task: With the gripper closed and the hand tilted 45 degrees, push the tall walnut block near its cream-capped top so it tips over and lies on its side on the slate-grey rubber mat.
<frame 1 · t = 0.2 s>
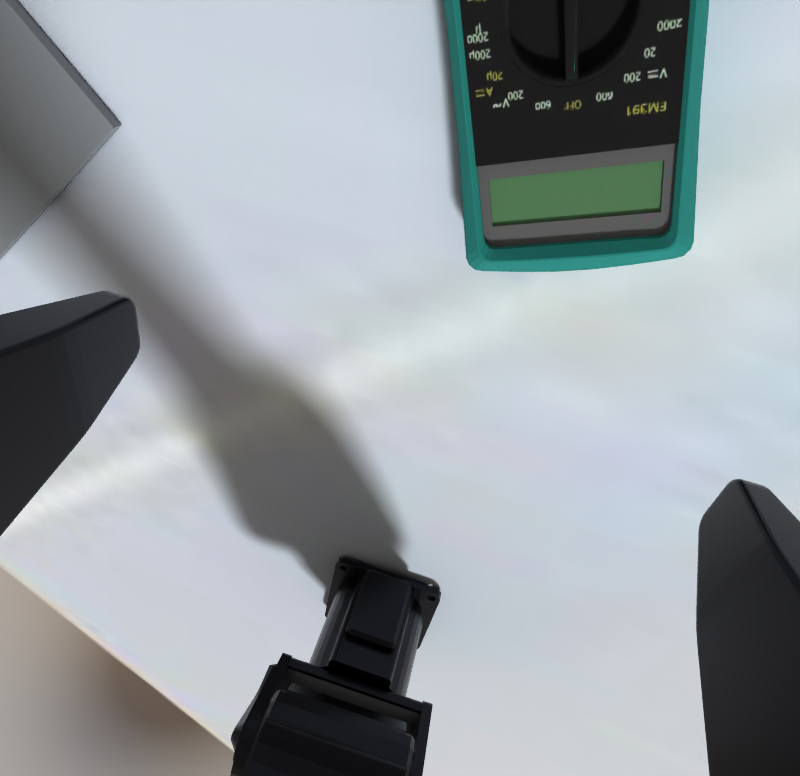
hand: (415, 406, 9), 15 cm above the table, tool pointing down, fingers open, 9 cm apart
digital multimeter: (571, 17, 18), on the table
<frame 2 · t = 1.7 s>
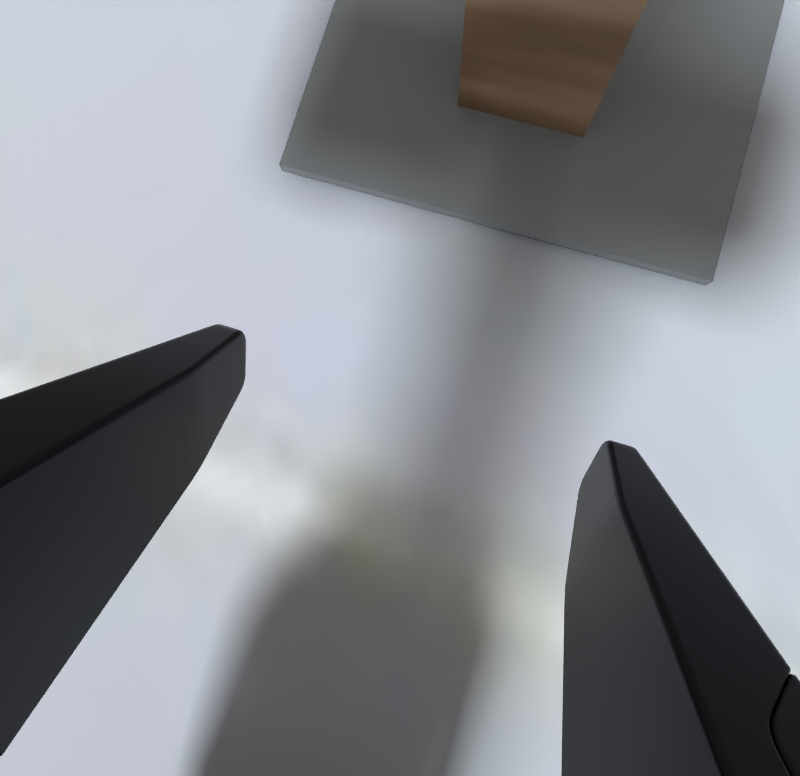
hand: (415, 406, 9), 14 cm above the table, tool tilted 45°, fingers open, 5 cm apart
walnut block: (537, 63, 23), resting on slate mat
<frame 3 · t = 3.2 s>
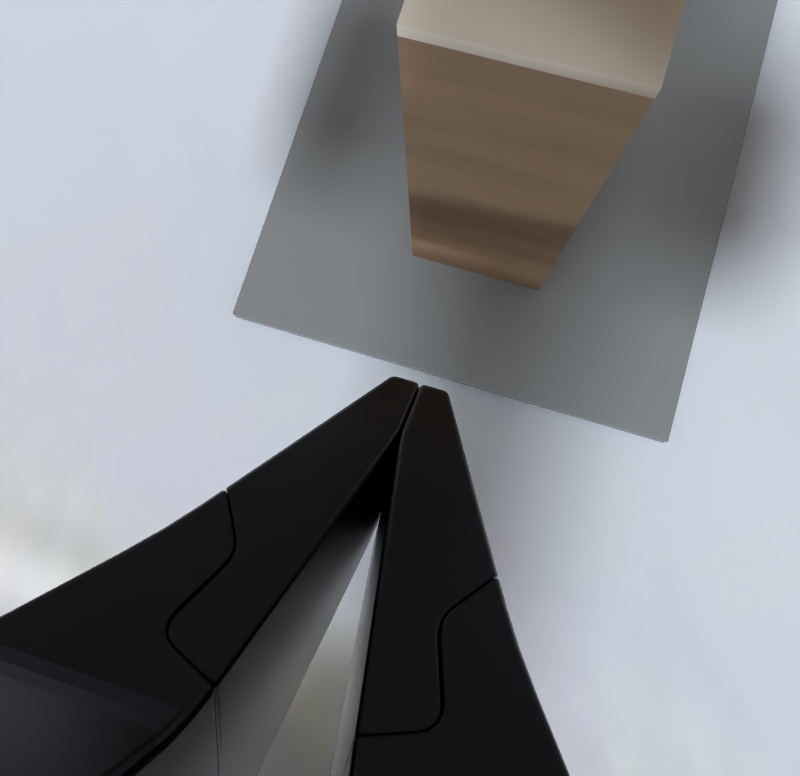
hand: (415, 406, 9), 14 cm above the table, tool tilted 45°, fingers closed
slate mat: (526, 99, 24), on the table
walnut block: (492, 213, 23), resting on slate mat
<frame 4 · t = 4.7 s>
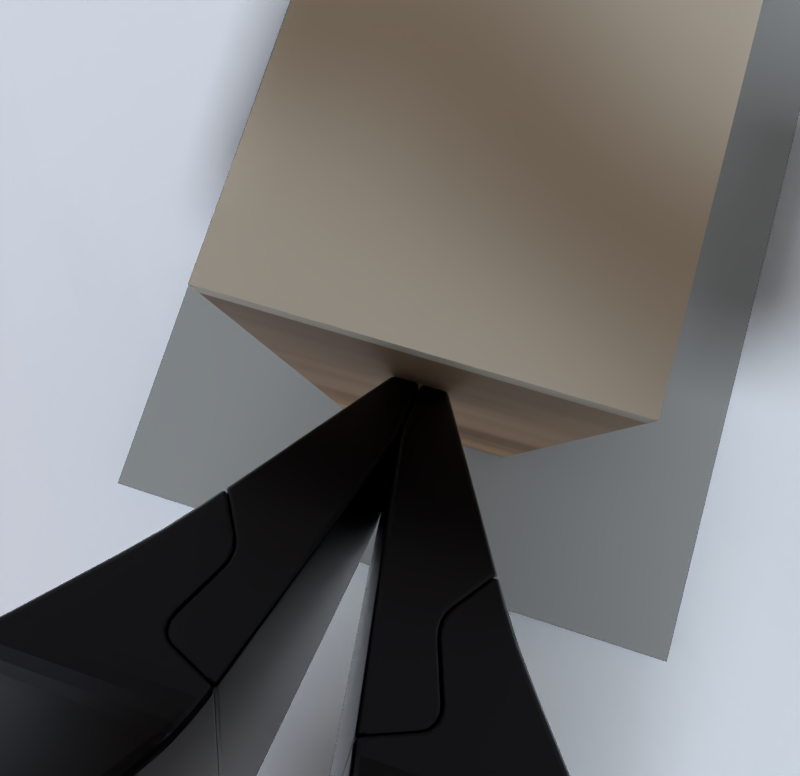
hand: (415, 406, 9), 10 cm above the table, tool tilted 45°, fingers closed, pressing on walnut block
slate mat: (490, 204, 19), on the table
walnut block: (446, 355, 18), point 1 cm above the table, touching gripper, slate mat
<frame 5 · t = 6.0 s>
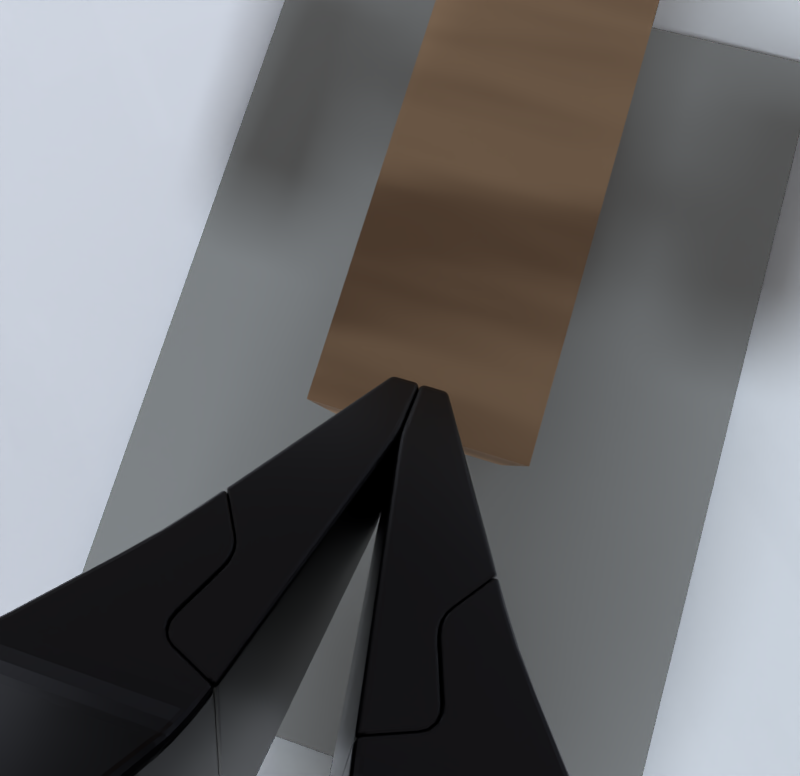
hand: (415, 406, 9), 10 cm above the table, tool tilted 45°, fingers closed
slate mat: (445, 355, 18), on the table
walnut block: (418, 437, 15), point 3 cm above the table, tilted 90°, touching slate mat
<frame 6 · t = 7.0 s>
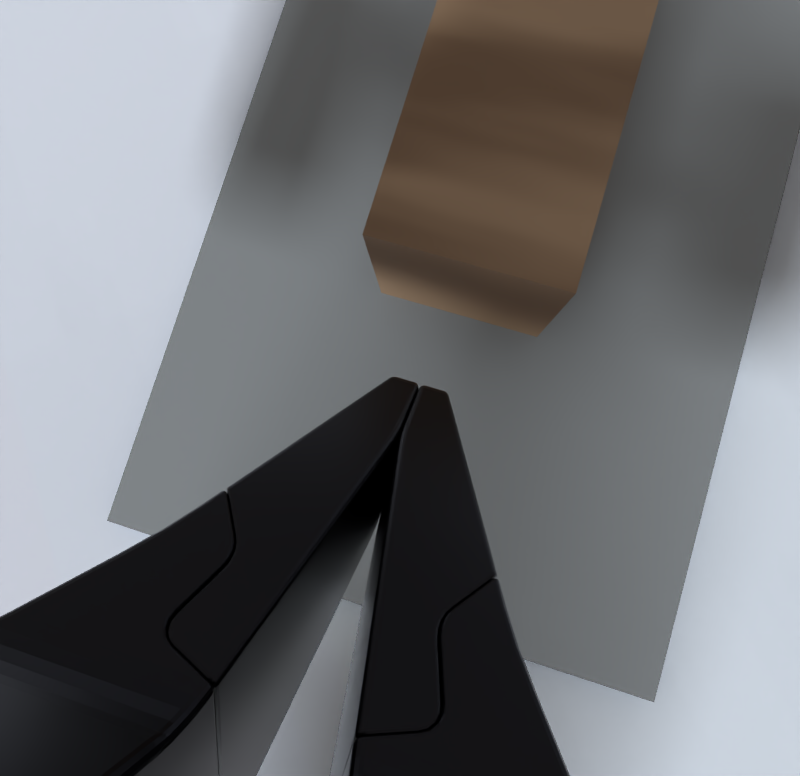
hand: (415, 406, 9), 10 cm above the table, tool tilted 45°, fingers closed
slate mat: (481, 236, 19), on the table
walnut block: (462, 293, 16), point 3 cm above the table, tilted 90°, touching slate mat
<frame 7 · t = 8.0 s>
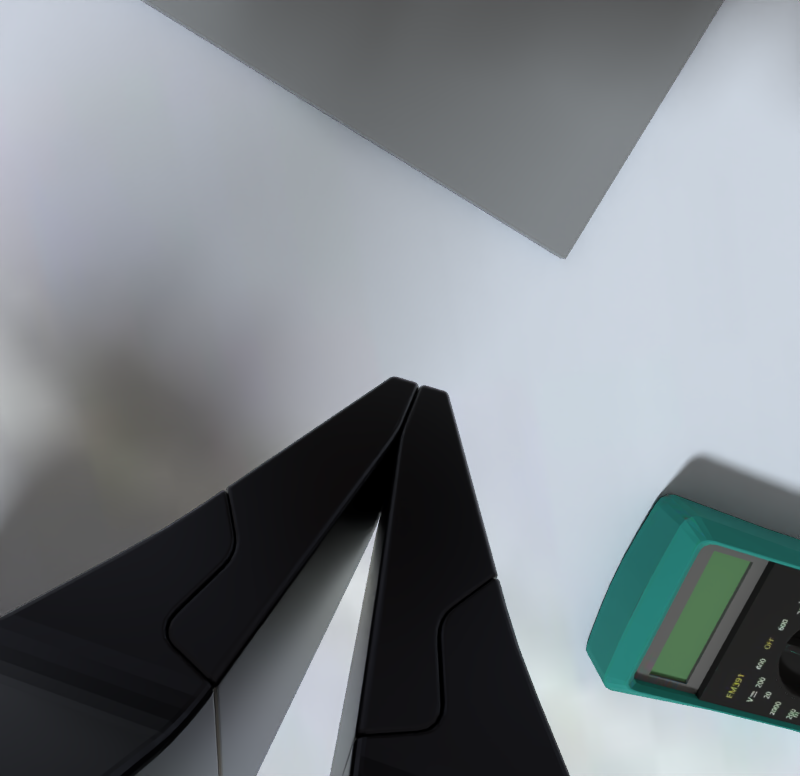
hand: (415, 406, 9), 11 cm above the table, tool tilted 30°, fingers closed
digital multimeter: (767, 609, 24), on the table
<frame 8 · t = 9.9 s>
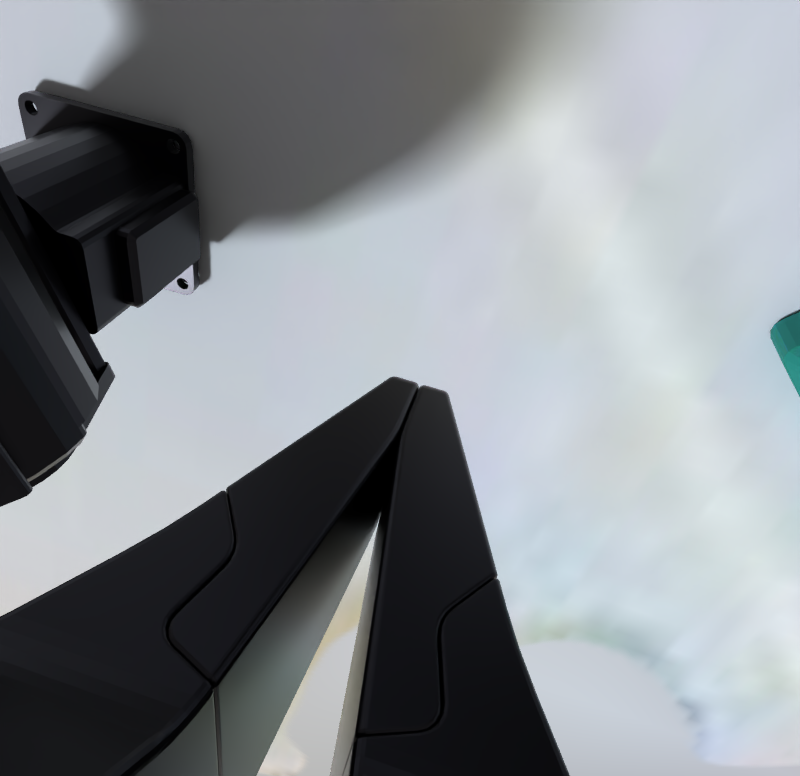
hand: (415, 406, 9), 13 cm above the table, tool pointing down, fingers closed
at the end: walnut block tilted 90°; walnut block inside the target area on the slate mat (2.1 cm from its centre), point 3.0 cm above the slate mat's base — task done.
